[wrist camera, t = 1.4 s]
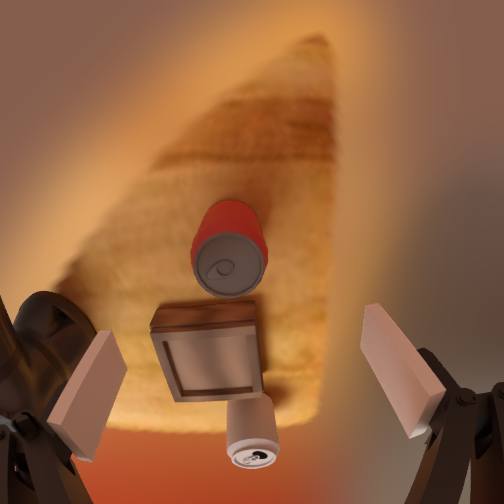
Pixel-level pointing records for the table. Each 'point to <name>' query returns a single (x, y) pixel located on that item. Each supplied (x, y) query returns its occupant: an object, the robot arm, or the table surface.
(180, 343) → the walnut tray
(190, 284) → the table surface
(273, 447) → the can
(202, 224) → the beer can
